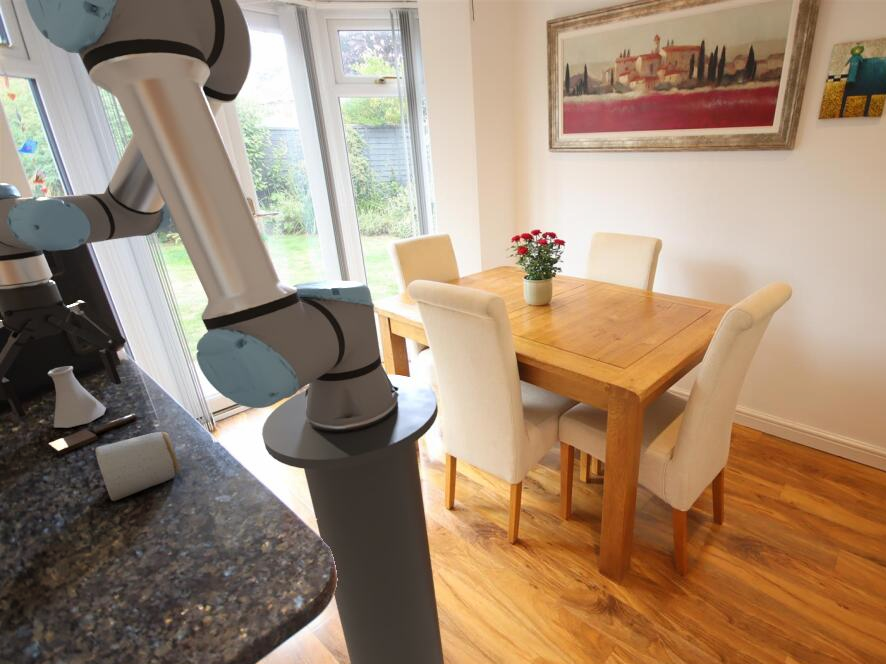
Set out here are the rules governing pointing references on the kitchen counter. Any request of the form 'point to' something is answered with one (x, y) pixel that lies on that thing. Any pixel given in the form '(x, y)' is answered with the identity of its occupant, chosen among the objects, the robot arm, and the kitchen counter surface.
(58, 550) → the kitchen counter surface
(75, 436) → the spatula
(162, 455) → the white cylinder
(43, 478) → the kitchen counter surface
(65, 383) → the flask
